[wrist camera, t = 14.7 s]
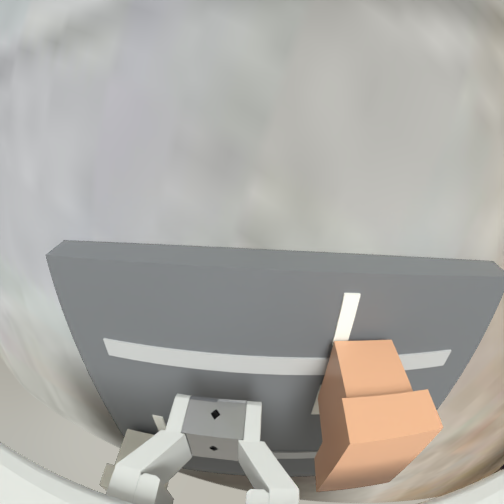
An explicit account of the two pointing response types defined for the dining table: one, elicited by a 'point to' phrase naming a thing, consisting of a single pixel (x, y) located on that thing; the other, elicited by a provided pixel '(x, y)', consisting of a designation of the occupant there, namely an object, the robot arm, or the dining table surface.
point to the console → (260, 328)
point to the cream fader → (125, 453)
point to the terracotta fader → (369, 417)
